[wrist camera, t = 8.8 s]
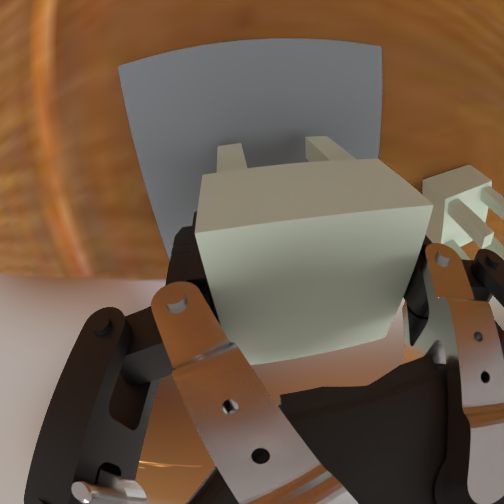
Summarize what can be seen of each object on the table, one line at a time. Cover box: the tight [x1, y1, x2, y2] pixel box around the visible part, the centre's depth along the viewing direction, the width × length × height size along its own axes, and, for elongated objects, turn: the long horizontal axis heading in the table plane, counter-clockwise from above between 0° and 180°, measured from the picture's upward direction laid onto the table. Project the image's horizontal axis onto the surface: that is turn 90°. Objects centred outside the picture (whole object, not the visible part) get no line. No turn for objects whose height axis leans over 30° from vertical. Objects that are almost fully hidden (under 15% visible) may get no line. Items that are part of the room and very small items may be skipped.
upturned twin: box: [422, 165, 504, 260], centre depth 15 cm, size 6×6×7 cm
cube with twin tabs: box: [195, 136, 434, 365], centre depth 10 cm, size 6×6×7 cm
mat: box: [118, 38, 382, 260], centre depth 15 cm, size 14×14×1 cm
